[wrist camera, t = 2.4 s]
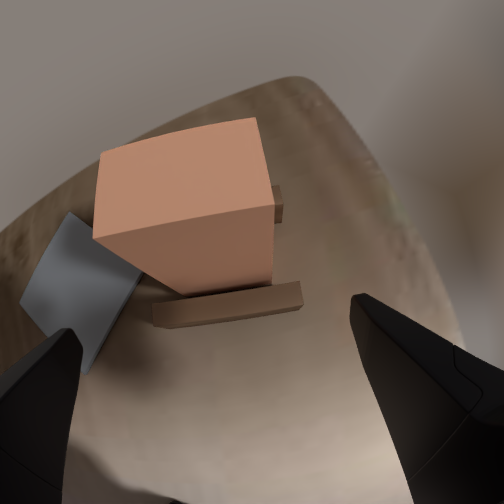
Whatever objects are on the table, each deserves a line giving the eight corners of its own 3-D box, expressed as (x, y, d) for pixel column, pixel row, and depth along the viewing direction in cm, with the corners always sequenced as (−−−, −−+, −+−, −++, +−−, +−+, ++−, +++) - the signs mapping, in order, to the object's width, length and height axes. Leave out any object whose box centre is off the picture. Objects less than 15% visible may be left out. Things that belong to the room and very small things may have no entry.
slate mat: (87, 374, 19) (84, 374, 18) (21, 303, 21) (19, 303, 20) (147, 267, 21) (145, 265, 20) (71, 213, 23) (69, 211, 22)
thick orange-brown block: (271, 283, 20) (274, 204, 9) (186, 297, 20) (92, 238, 9) (262, 234, 21) (255, 117, 10) (181, 248, 21) (101, 152, 10)
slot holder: (298, 310, 19) (303, 304, 17) (169, 329, 19) (153, 326, 17) (278, 205, 22) (279, 185, 19) (161, 225, 22) (146, 209, 19)
